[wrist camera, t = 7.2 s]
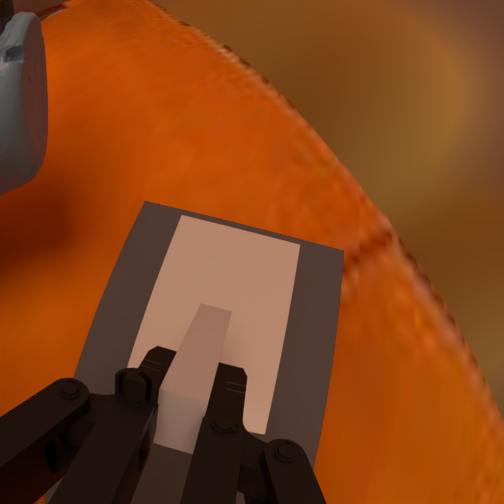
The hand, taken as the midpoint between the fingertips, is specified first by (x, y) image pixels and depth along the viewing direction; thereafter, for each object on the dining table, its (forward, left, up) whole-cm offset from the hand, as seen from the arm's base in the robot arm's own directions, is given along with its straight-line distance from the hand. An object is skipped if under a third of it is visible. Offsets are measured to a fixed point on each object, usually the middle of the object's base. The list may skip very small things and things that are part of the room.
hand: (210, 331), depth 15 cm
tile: (+4, -2, -8) cm, 9 cm away
